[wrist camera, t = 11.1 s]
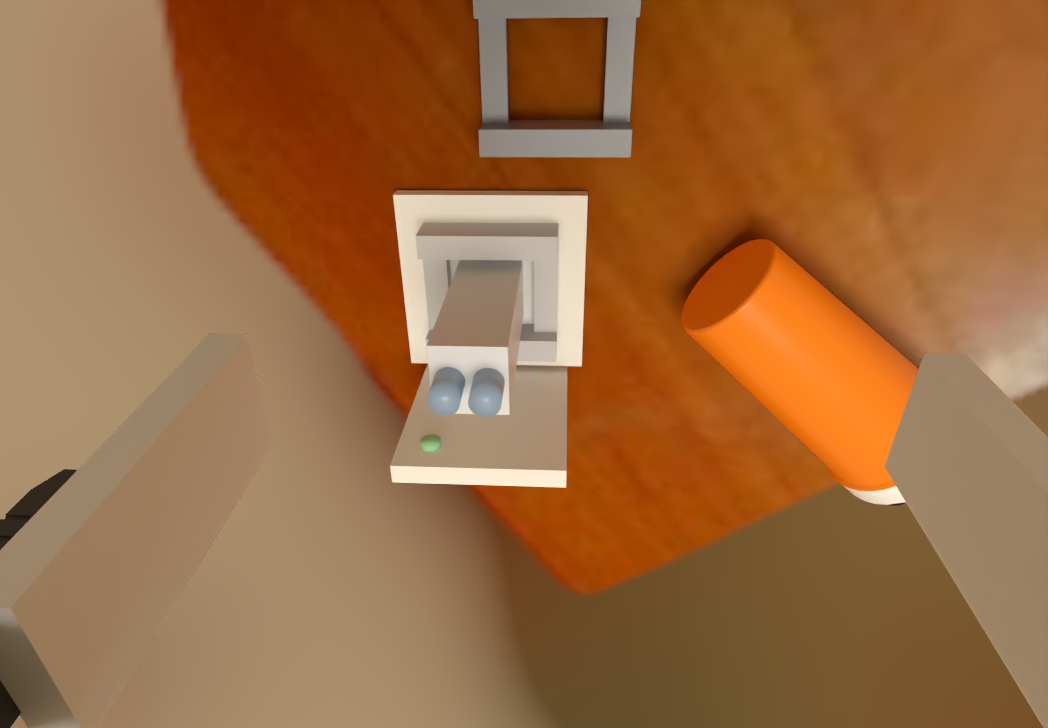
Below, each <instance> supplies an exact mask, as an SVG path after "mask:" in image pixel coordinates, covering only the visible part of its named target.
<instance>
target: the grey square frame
mask: <svg viewBox="0 0 1048 728" xmlns="http://www.w3.org/2000/svg"><path fill="white" fill-rule="evenodd" d="M640 5H641V0H473V17H474V19H478V25H479V50H480V74H481V98H482V125H481V126H480V128H479V130H478V131H479V153H480V157H631V143H632V127H631V125H630V109H631V93H632V77H633V61H634V45H635V30H636V17H640ZM600 17H607V33H606V55H605V78H604V101H603V119H544V120H510V118H509V72H508V26H507V18H600Z"/></svg>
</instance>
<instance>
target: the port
mask: <svg viewBox="0 0 1048 728" xmlns="http://www.w3.org/2000/svg"><path fill="white" fill-rule="evenodd" d="M393 200H394V209H395V218H396V227H397V236H398V245H399V254H400V263H401V273H402V282H403V291H404V300H405V309H406V318H407V327H408V336H409V345H410V354H411V363H428V354H427V343H428V341H429V338H430V336H431V333H432V331H433V328H434V325H435V323H436V320H437V318H438V315H439V312H440V310H441V307H442V305H443V302H444V300H445V297H446V294H447V292H448V289H449V287H450V284H451V281H452V279H453V276H454V274H455V271H456V269H457V266H458V263H459V261H460V260H522V261H523V305H524V315H523V322H522V329H521V337H520V344H519V351H518V359H517V366H516V373H515V380H514V388H513V395H512V402H511V409H510V415H494V416H491V417H480V416H477V415H475V414H453V415H451V416H439V415H436V414H434V413H433V412H432V411H431V410H430V409H429V408H428V406H427V396H428V393H429V390H430V388H431V386H430V375H429V365H428V364H427V367H426V369H425V372H424V375H423V378H422V380H421V383H420V386H419V388H418V391H417V394H416V397H415V399H414V402H413V405H412V408H411V410H410V413H409V416H408V418H407V421H406V424H405V427H404V430H403V432H402V435H401V438H400V440H399V443H398V446H397V448H396V451H395V454H394V457H393V459H392V462H391V465H390V469H391V476H392V482H400V483H401V482H402V483H433V484H467V485H501V486H534V487H566V456H567V366H582V344H583V316H584V287H585V259H586V231H587V202H588V193H587V191H452V190H396V192H395V193H394V194H393Z"/></svg>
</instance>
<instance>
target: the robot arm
mask: <svg viewBox="0 0 1048 728" xmlns="http://www.w3.org/2000/svg"><path fill="white" fill-rule="evenodd" d="M273 444H274V443H273V439H272V435H271V431H270V427H269V423H268V419H267V414H266V410H265V407H264V402H263V398H262V394H261V390H260V386H259V382H258V377H257V373H256V370H255V365H254V361H253V357H252V353H251V349H250V345H249V340H248V336H247V334H220V333H210V334H208V335H207V336H206V338H205V339H204V340H203V341H202V342H201V343H200V344H199V345H198V346H197V347H196V348H195V349H194V350H193V351H192V352H191V353H190V354H189V355H188V356H187V357H186V358H185V360H184V361H182V362H181V363H180V365H178V367H177V368H176V369H175V370H174V371H173V372H172V373H171V374H170V375H169V376H168V377H167V378H166V379H165V380H164V381H163V382H162V383H161V384H160V385H159V386H158V387H157V388H156V389H155V390H154V392H153V393H152V394H151V395H150V396H149V397H148V398H147V399H146V400H145V401H144V402H143V403H142V404H141V405H140V406H139V407H138V408H137V409H136V410H135V411H134V412H133V413H132V414H131V415H130V416H129V417H128V419H126V420H125V421H124V422H123V424H122V425H121V426H120V427H119V428H118V429H117V430H116V431H115V432H114V433H113V434H112V435H111V436H110V437H109V438H108V439H107V440H106V441H105V442H104V443H103V444H102V445H101V446H100V447H99V448H98V449H97V450H96V451H95V453H94V454H93V455H92V456H91V457H90V458H89V459H88V460H87V461H86V462H85V463H84V464H83V465H82V466H81V467H80V468H79V469H78V470H67V469H65V470H63V471H61V472H59V473H57V474H56V475H54V476H53V477H51V478H49V479H48V480H47V481H44V482H43V483H41V484H40V485H38V486H36V487H35V488H33V489H31V490H30V491H29V492H28V493H27V494H26V495H25V496H24V497H23V498H22V499H21V500H20V501H19V502H18V503H17V504H16V505H15V506H14V507H13V508H12V509H11V510H10V511H9V512H8V513H7V514H6V518H5V520H3V519H1V520H0V728H10V727H11V726H12V724H13V723H14V722H15V720H16V719H17V717H18V716H19V715H20V716H21V717H22V719H23V720H24V722H25V723H26V725H27V726H28V728H100V726H101V724H102V723H103V721H104V719H105V718H106V716H107V715H108V713H109V711H110V710H111V708H112V706H113V705H114V703H115V702H116V700H117V698H118V697H119V695H120V693H121V692H122V690H123V689H124V687H125V685H126V684H127V682H128V680H129V679H130V677H131V676H132V674H133V672H134V671H135V669H136V667H137V666H138V664H139V662H140V661H141V659H142V658H143V656H144V654H145V653H146V651H147V649H148V648H149V646H150V644H151V643H152V641H153V640H154V638H155V636H156V635H157V633H158V632H159V630H160V628H161V627H162V625H163V623H164V622H165V620H166V618H167V617H168V615H169V614H170V612H171V610H172V609H173V607H174V605H175V604H176V602H177V600H178V599H179V597H180V596H181V594H182V592H183V591H184V589H185V588H186V586H187V584H188V583H189V581H190V579H191V578H192V576H193V575H194V573H195V571H196V570H197V568H198V566H199V565H200V563H201V561H202V560H203V558H204V557H205V555H206V553H207V552H208V550H209V549H210V547H211V545H212V543H213V542H214V540H215V539H216V537H217V535H218V534H219V532H220V531H221V529H222V527H223V526H224V524H225V522H226V521H227V519H228V518H229V516H230V514H231V513H232V511H233V509H234V508H235V506H236V505H237V503H238V501H239V500H240V498H241V496H242V495H243V493H244V492H245V490H246V488H247V487H248V485H249V483H250V482H251V480H252V479H253V477H254V475H255V474H256V472H257V470H258V469H259V467H260V466H261V464H262V462H263V460H264V459H265V457H266V456H267V454H268V453H269V451H270V449H271V448H272V446H273ZM884 467H885V469H886V470H887V472H888V474H889V475H890V477H891V479H892V480H893V482H894V483H895V485H896V487H897V488H898V490H899V492H900V493H901V495H902V497H903V498H904V500H905V501H906V503H907V505H908V506H909V508H910V510H911V511H912V513H913V514H914V516H915V518H916V519H917V521H918V523H919V524H920V526H921V528H922V529H923V531H924V533H925V534H926V536H927V538H928V539H929V541H930V542H931V544H932V546H933V547H934V549H935V551H936V552H937V554H938V556H939V557H940V559H941V561H942V562H943V564H944V565H945V567H946V569H947V570H948V572H949V573H950V575H951V577H952V578H953V580H954V582H955V583H956V585H957V587H958V588H959V590H960V592H961V593H962V595H963V597H964V598H965V600H966V602H967V603H968V605H969V606H970V608H971V610H972V611H973V613H974V615H975V616H976V618H977V619H978V621H979V623H980V624H981V626H982V628H983V629H984V631H985V632H986V634H987V636H988V638H989V639H990V641H991V642H992V644H993V646H994V647H995V649H996V651H997V652H998V654H999V656H1000V657H1001V659H1002V660H1003V662H1004V664H1005V665H1006V667H1007V668H1008V670H1009V672H1010V674H1011V675H1012V677H1013V679H1014V680H1015V682H1016V683H1017V685H1018V686H1019V688H1020V690H1021V692H1022V693H1023V695H1024V697H1025V698H1026V700H1027V701H1028V703H1029V705H1030V706H1031V708H1032V710H1033V711H1034V713H1035V715H1036V716H1037V718H1038V720H1039V721H1040V723H1041V724H1042V726H1043V728H1048V437H1047V436H1046V435H1045V434H1044V433H1043V432H1042V431H1041V430H1040V429H1039V428H1038V427H1037V426H1036V425H1035V424H1034V423H1033V422H1032V421H1031V420H1030V419H1029V418H1028V417H1027V416H1026V415H1025V414H1024V413H1023V412H1022V411H1021V410H1020V409H1019V408H1018V407H1017V406H1016V405H1015V404H1014V403H1013V402H1012V401H1011V400H1010V399H1009V398H1008V397H1007V396H1006V395H1005V394H1004V393H1003V392H1002V391H1001V390H1000V389H999V388H998V387H997V385H996V384H995V383H994V382H993V381H992V380H991V379H990V378H989V377H988V376H987V375H986V374H985V373H984V372H983V371H982V370H981V369H980V368H979V367H978V366H977V365H976V364H975V363H974V362H973V361H972V360H971V359H970V358H969V357H968V356H967V355H964V354H929V353H924V355H923V358H922V361H921V364H920V366H919V369H918V372H917V375H916V378H915V381H914V384H913V386H912V389H911V392H910V395H909V398H908V401H907V404H906V406H905V409H904V412H903V415H902V418H901V421H900V423H899V426H898V429H897V432H896V435H895V438H894V441H893V443H892V446H891V449H890V452H889V455H888V458H887V461H886V463H885V466H884Z"/></svg>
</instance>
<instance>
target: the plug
mask: <svg viewBox="0 0 1048 728" xmlns="http://www.w3.org/2000/svg"><path fill="white" fill-rule="evenodd" d="M523 315H524V305H523V261H522V260H460V261H459V263H458V266H457V269H456V271H455V274H454V276H453V279H452V281H451V284H450V287H449V289H448V292H447V294H446V297H445V300H444V302H443V305H442V307H441V310H440V312H439V315H438V318H437V320H436V323H435V325H434V328H433V331H432V333H431V336H430V338H429V341H428V343H427V354H428V365H429V375H430V386H431V388H430V390H429V393H428V396H427V406H428V408H429V409H430V410H431V411H432V412H433V413H434V414H436V415H439V416H451V415H453V414H475V415H477V416H480V417H491V416H494V415H510V409H511V402H512V395H513V388H514V380H515V373H516V366H517V359H518V351H519V344H520V337H521V329H522V322H523Z"/></svg>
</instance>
